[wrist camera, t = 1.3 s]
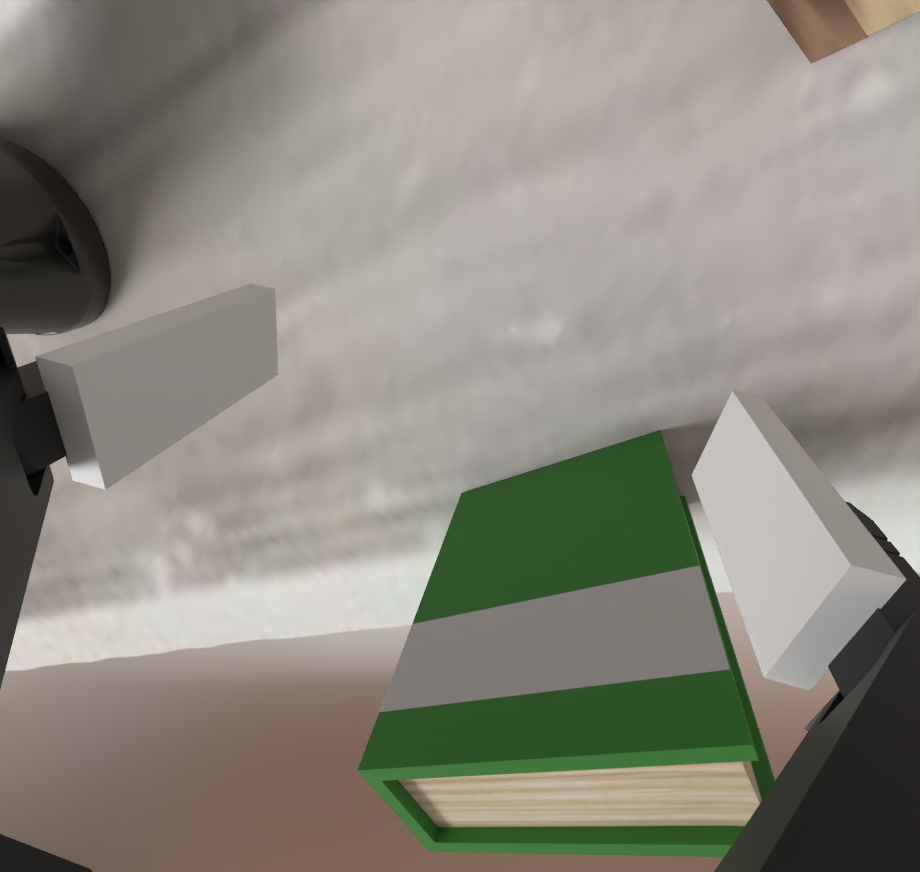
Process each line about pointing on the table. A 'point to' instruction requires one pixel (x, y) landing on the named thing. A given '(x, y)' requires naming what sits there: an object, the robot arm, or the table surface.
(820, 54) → the walnut base block
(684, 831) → the hardback book
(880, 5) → the oak middle block
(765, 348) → the table surface
